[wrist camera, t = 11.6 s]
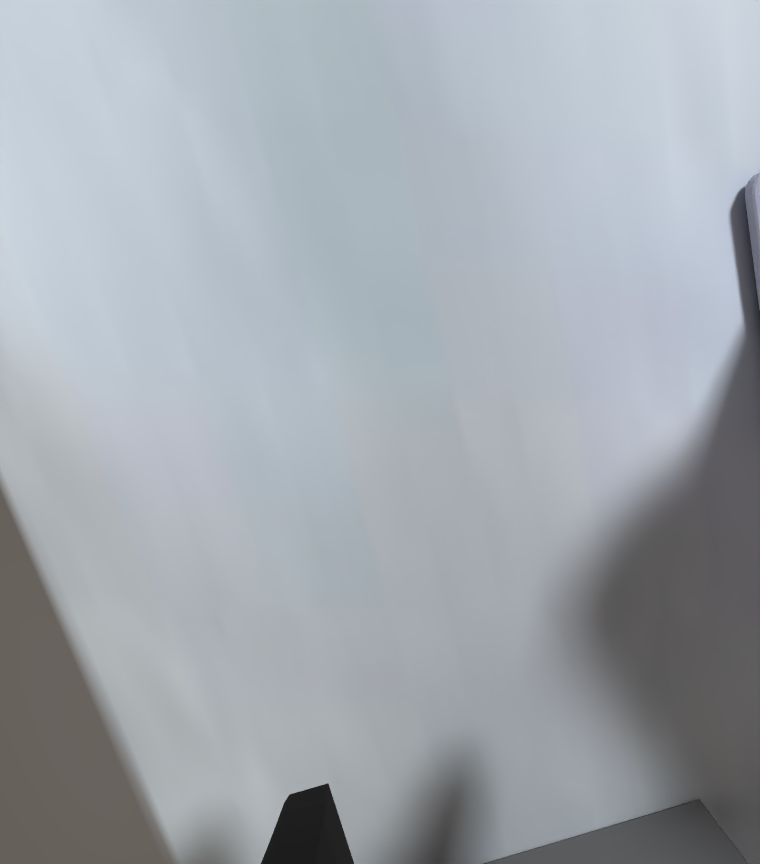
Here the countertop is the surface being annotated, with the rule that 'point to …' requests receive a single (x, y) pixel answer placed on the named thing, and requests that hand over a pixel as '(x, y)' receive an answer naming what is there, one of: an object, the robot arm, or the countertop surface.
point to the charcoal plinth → (644, 842)
